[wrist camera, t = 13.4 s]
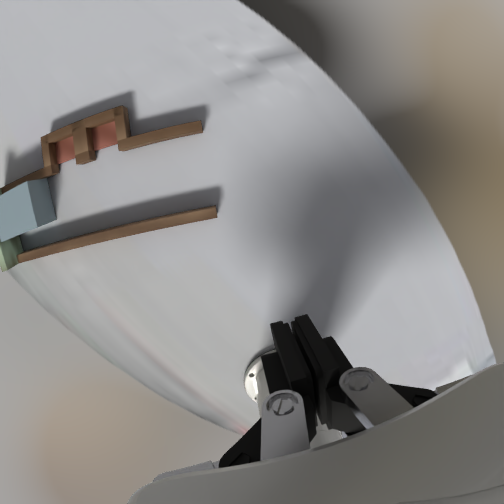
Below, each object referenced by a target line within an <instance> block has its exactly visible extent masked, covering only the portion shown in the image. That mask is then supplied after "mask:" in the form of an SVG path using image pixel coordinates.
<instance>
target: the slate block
mask: <svg viewBox="0 0 504 504" xmlns="http://www.w3.org/2000/svg"><path fill="white" fill-rule="evenodd" d="M54 220H57V219H56V215H55V211H54V207H53V203H52V199H51V194H50V190H49V185H48V180H47V178H45V179H38V180H31V181H26V182H24V183H22V184H20V185H18V186H17V187H15V188H13V189H11V190H9V191H7V192H5V193H4V194H2V195H0V240H1V242H3V241H6V240H8V239H10V238H13V237H15V236H17V235H20V234H22V233H25V232H27V231H30V230H32V229H35V228H37V227H40V226H42V225H45V224H47V223H49V222H52V221H54Z"/></svg>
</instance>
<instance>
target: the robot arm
mask: <svg viewBox="0 0 504 504" xmlns="http://www.w3.org/2000/svg"><path fill="white" fill-rule="evenodd" d="M270 326H271V331H272V335H273V340H274V345H275V350H272V351H269V352H267V353H265V354H263V355H261V356H260V357H258V358H257V359H255V360H254V361H253V362H252V363H251V364H250V366H249V367H248V369H247V371H246V373H245V376H244V386H245V390H246V392H247V394H248V396H249V397H250V398H251V399H253V400H254V401H256V402H257V403H258V408H259V413H260V419H259V420H258V421H257V422H256V423H255V424H254V425H253V427H252V428H251V429H250V430H249V431H248V432H247V433H246V434H245V435H244V436H243V437H242V438H241V439H240V440H239V441H238V442H237V443H236V444H235V445H234V446H233V447H231V448H230V449H229V450H228V451H227V452H226V453H225V454H224V455H223V457H222V458H221V459H220V461H216V462H213V463H212V461H208V462H204V463H201V464H197V465H193V466H190V467H186V468H182V469H178V470H174V471H169V472H165V473H162V474H160V475H158V476H157V477H156V478H154V480H153V482H152V483H149V484H147V485H145V486H143V487H142V488H140V489H138V490H137V491H136V492H135V493H134V494H133V495H132V496H131V498H130V499H129V501H128V503H127V504H504V362H502V363H498V364H495V365H492V366H490V367H487V368H485V369H483V370H481V371H479V372H477V373H475V374H473V375H470V376H468V377H465V378H462V379H460V380H457V381H454V382H452V383H449V384H446V385H443V386H440V387H437V388H436V390H435V391H432V390H429V389H423V388H415V387H408V386H401V385H395V384H388V383H387V382H385V381H384V380H383V379H382V378H381V377H380V376H379V375H378V374H377V373H376V372H375V371H373V370H372V369H369V368H366V367H357V368H353V367H352V365H351V364H350V362H349V361H348V359H347V358H346V356H345V355H344V353H343V352H342V350H341V349H340V347H339V346H338V344H337V343H336V341H335V340H334V339H333V337H331V336H330V337H327V338H323V339H322V338H321V336H320V334H319V333H318V331H317V330H316V328H315V326H314V325H313V323H312V321H311V320H310V318H309V317H308V315H307V314H305V315H302V316H298V317H295V321H292V322H291V326H292V331H291V329H290V327H289V324H288V323H284V324H283V322H282V321H279V322H275V323H271V324H270ZM292 332H293V333H292ZM339 431H341V434H340V432H339ZM341 435H342V436H341ZM342 437H343V439H342Z"/></svg>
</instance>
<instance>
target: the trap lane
mask: <svg viewBox="0 0 504 504" xmlns="http://www.w3.org/2000/svg"><path fill="white" fill-rule="evenodd" d="M198 133H203V129H202V123H201V120H200V121H195V122H190V123H185V124H180V125H176V126H171V127H167V128H163V129H159V130H155V131H151V132H147V133H143V134H140V135H136V136H132V137H131V132H130V125H129V117H128V109H127V108H126V107H124V106H123V105H122V106H119V107H116V108H113V109H110V110H107V111H104V112H101V113H98V114H95V115H93V116H90V117H87V118H85V119H82V120H80V121H77V122H75V123H72V124H70V125H67V126H65V127H63V128H60V129H58V130H56V131H53V132H51V133H49V134H47V135H45V136H43V137H41V146H42V155H43V162H44V168H42V169H40V170H38V171H35V172H33V173H31V174H29V175H27V176H24V177H22V178H20V179H18V180H16V181H14V182H12V183H10V184H8V185H6V186H4V187H2V188H0V195H2V194H4V193H5V192H7V191H9V190H11V189H13V188H15V187H17V186H18V185H20V184H22V183H24V182H26V181H31V180H38V179H45V178H48V177H51V176H53V175H56V174H58V173H60V172H59V165H58V164H61V163H63V162H66V161H69V160H71V159H74V158H76V164H86V163H89V162H92V161H95V160H96V155H95V151H96V150H99V149H102V148H106V147H109V146H112V145H115V144H118V149H119V151H127V150H131V149H134V148H138V147H142V146H146V145H149V144H153V143H157V142H162V141H166V140H170V139H174V138H179V137H184V136H188V135H193V134H198ZM213 218H217V210H216V205H215V206H209V207H204V208H199V209H194V210H189V211H184V212H179V213H174V214H169V215H165V216H160V217H155V218H151V219H146V220H142V221H138V222H133V223H129V224H125V225H120V226H116V227H112V228H108V229H104V230H100V231H96V232H92V233H88V234H84V235H80V236H77V237H73V238H69V239H66V240H62V241H58V242H55V243H51V244H48V245H44V246H41V247H37V248H34V249H30V250H27V251H24V252H23V248H22V245H21V241H20V237H19V235H17V236H15V237H13V238H10V239H8V240H6V241H3V242H1V240H0V267H1V270H2V272H3V271H7V270H9V269H10V268H12V267H14V266H15V265H17V264H18V263H22V262H25V261H29V260H33V259H36V258H40V257H44V256H48V255H51V254H55V253H59V252H63V251H67V250H71V249H75V248H79V247H83V246H87V245H91V244H96V243H100V242H104V241H108V240H113V239H117V238H121V237H126V236H130V235H135V234H139V233H144V232H149V231H153V230H158V229H163V228H168V227H173V226H177V225H182V224H187V223H192V222H198V221H203V220H208V219H213Z"/></svg>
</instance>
